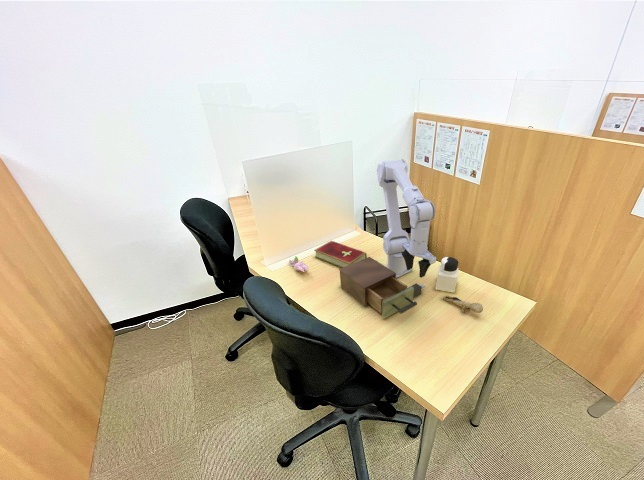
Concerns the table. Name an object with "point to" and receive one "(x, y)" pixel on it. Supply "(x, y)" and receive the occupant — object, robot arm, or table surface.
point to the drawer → (390, 297)
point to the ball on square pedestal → (447, 275)
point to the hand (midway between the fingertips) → (415, 272)
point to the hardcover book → (339, 254)
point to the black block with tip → (417, 289)
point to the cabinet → (363, 278)
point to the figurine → (465, 304)
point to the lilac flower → (298, 265)
